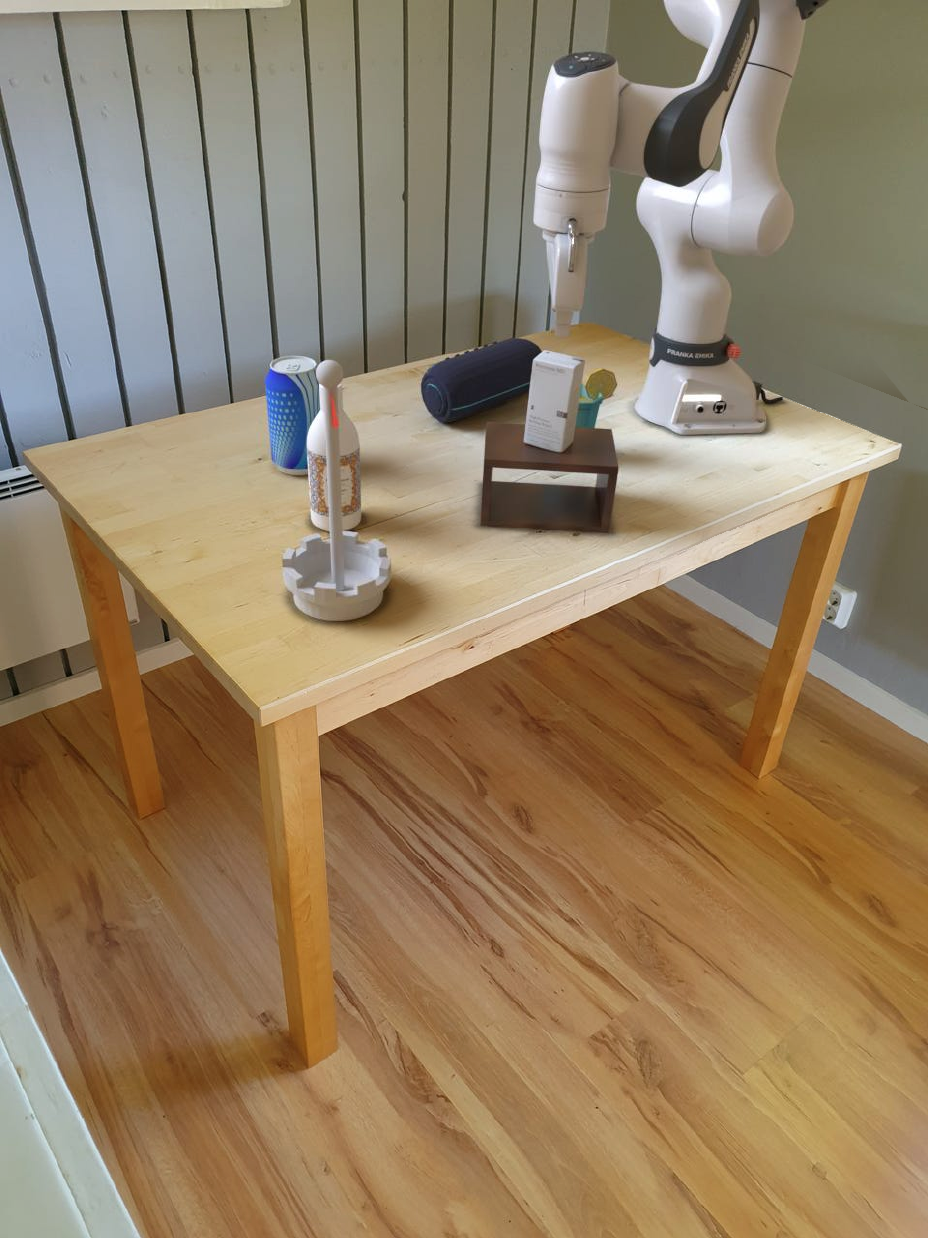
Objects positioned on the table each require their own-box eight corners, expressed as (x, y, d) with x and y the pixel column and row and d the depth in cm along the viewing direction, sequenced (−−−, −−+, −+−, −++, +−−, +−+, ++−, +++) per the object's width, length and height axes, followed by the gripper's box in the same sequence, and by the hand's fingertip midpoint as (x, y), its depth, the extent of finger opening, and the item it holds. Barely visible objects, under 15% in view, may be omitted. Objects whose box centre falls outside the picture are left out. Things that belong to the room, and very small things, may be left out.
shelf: (602, 491, 144) (611, 428, 138) (609, 532, 134) (618, 467, 128) (482, 484, 144) (486, 421, 138) (480, 525, 134) (484, 459, 128)
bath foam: (313, 535, 130) (305, 395, 118) (308, 510, 136) (300, 374, 124) (364, 531, 131) (361, 393, 120) (357, 506, 137) (354, 371, 125)
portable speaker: (508, 379, 178) (512, 326, 172) (549, 396, 172) (555, 341, 166) (409, 416, 163) (409, 359, 157) (451, 435, 157) (453, 377, 151)
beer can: (260, 464, 146) (251, 362, 137) (303, 447, 151) (297, 348, 142) (296, 483, 142) (288, 379, 132) (339, 465, 147) (335, 364, 137)
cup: (542, 475, 147) (551, 382, 138) (516, 454, 152) (523, 363, 144) (616, 458, 153) (629, 368, 144) (588, 439, 158) (599, 350, 149)
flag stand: (278, 572, 122) (259, 342, 105) (379, 561, 126) (376, 335, 108) (292, 632, 112) (274, 388, 95) (401, 618, 115) (403, 380, 98)
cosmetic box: (522, 443, 132) (529, 358, 125) (535, 431, 136) (543, 348, 129) (563, 454, 130) (573, 368, 123) (575, 442, 134) (586, 357, 126)
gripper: (603, 234, 107) (589, 353, 115) (591, 190, 124) (580, 298, 132) (546, 231, 107) (537, 351, 116) (542, 188, 124) (534, 296, 132)
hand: (560, 322), depth 124 cm, fingers open, 8 cm apart
